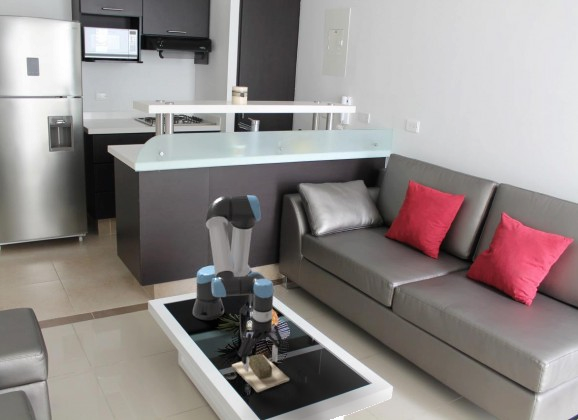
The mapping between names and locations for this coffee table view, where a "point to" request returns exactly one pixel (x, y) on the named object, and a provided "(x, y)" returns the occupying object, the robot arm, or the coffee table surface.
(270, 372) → the stone block
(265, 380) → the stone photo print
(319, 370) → the coffee table surface
